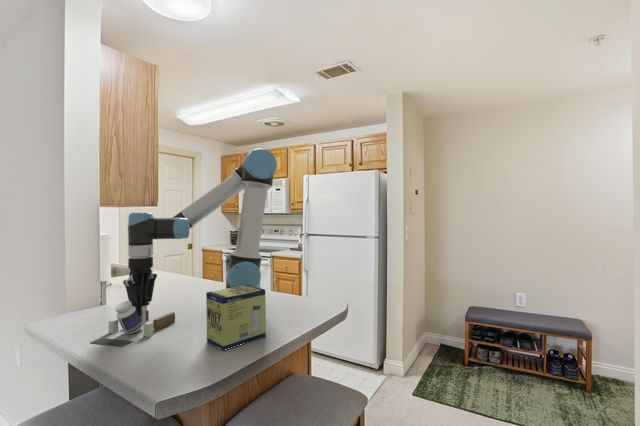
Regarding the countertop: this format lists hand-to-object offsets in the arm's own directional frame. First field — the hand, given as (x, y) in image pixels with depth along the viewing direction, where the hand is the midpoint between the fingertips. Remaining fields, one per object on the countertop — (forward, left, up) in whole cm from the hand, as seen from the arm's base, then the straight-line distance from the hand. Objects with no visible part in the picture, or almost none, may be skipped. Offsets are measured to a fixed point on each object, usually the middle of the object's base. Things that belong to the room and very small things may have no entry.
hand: (141, 324), depth 113 cm
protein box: (-37, +1, -2) cm, 37 cm away
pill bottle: (0, +3, -1) cm, 3 cm away
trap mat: (0, +12, -1) cm, 12 cm away
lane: (0, -4, -1) cm, 4 cm away
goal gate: (0, +5, -1) cm, 5 cm away
